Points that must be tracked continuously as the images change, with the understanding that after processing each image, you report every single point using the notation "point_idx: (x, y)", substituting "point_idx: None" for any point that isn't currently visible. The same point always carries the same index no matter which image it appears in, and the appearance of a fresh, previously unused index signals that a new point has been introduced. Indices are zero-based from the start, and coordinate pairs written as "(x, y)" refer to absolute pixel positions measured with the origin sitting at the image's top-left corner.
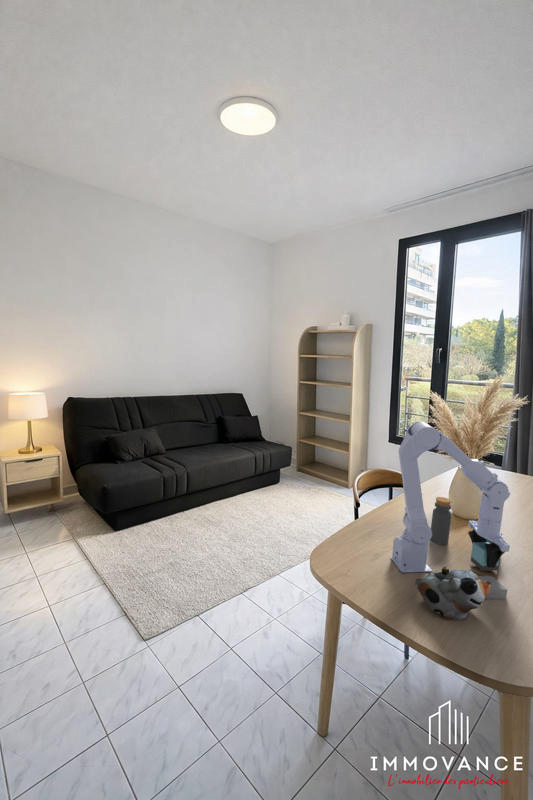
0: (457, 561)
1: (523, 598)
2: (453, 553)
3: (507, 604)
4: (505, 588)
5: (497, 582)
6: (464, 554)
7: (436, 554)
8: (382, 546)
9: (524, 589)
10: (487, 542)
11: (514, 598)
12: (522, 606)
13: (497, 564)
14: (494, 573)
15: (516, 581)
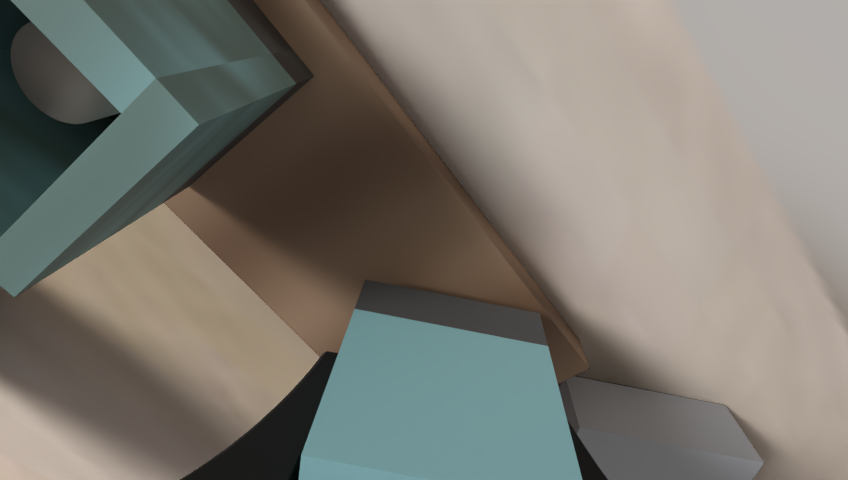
0: (257, 368)
1: (800, 295)
2: (138, 312)
3: (766, 445)
4: (747, 463)
5: (664, 454)
6: (152, 234)
7: (157, 433)
8: None
9: (742, 174)
10: (310, 474)
11: (759, 356)
12: (840, 379)
13: (545, 363)
14: None
15: (631, 132)
